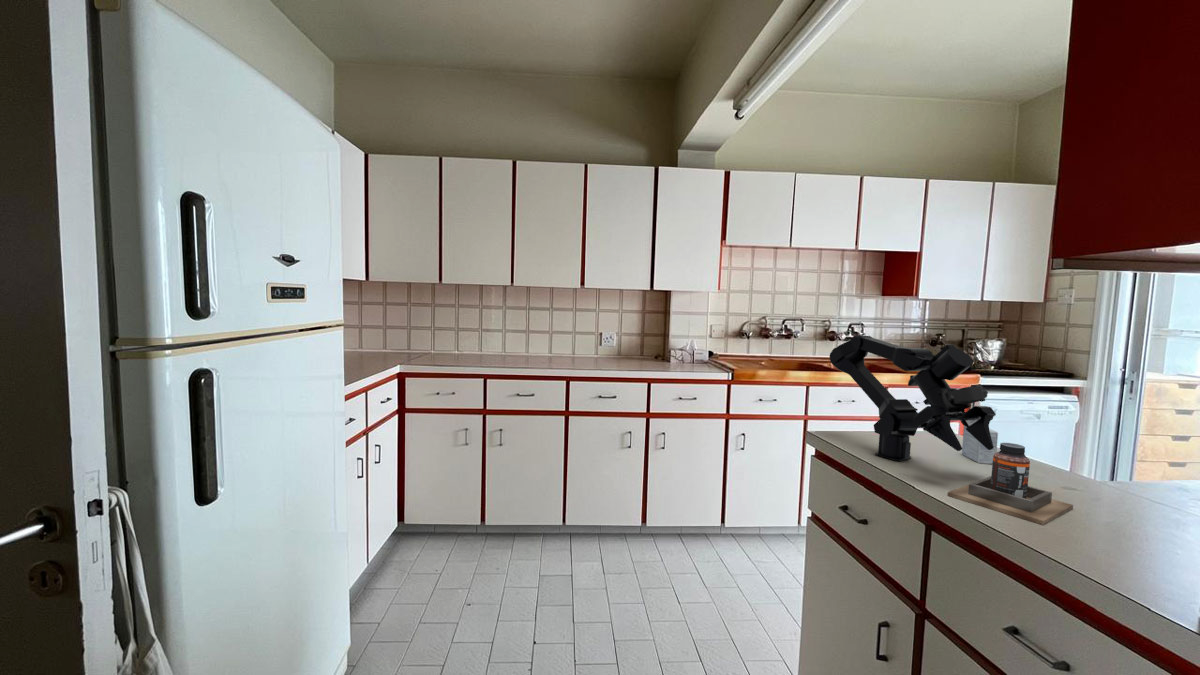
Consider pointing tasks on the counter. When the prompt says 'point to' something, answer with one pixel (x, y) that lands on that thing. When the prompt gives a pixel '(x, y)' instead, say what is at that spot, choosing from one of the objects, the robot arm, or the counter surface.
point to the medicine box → (978, 448)
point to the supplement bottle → (1010, 470)
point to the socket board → (1013, 501)
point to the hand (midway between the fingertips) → (976, 449)
